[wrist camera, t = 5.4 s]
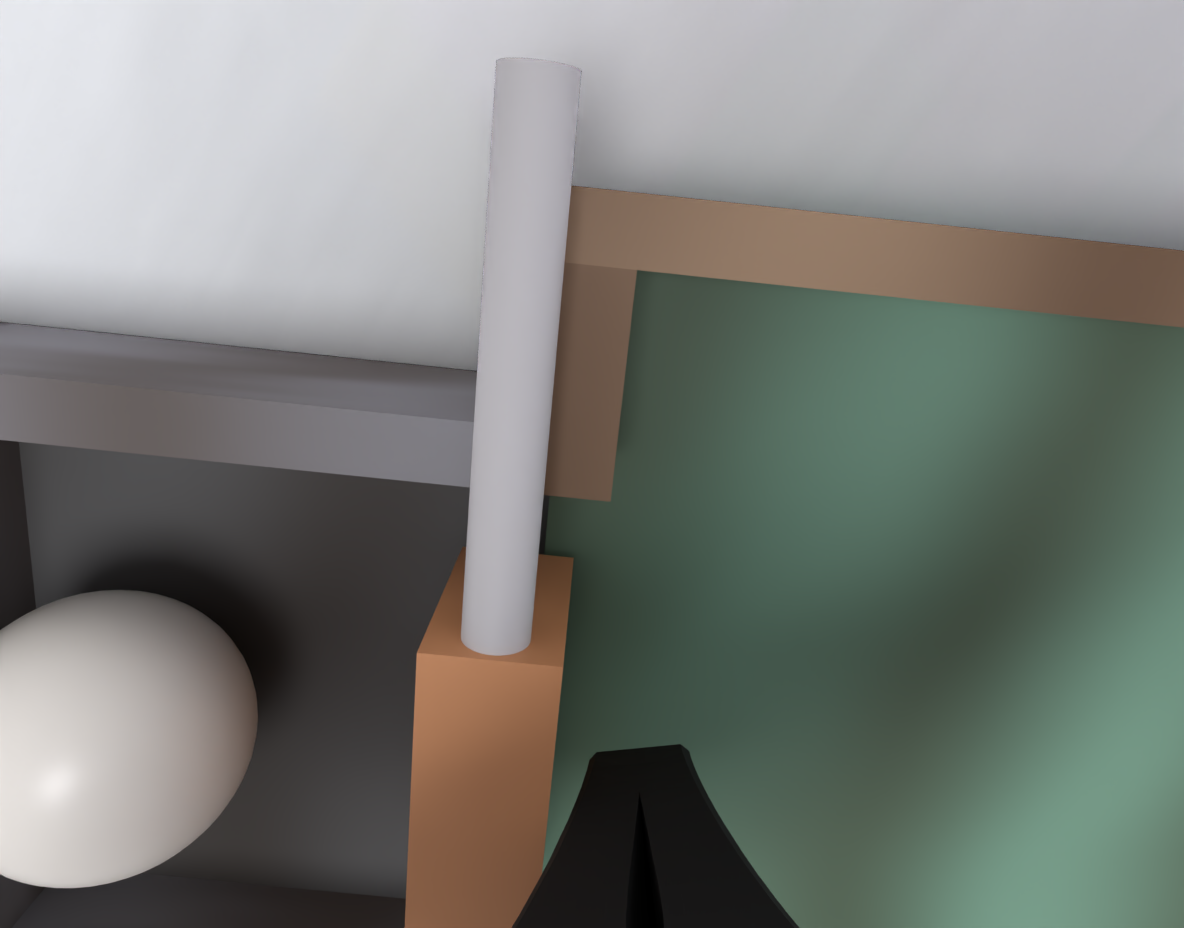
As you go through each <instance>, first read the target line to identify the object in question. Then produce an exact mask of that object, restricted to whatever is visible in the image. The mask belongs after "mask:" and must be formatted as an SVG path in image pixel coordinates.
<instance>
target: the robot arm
mask: <svg viewBox="0 0 1184 928" xmlns="http://www.w3.org/2000/svg"><path fill="white" fill-rule="evenodd" d="M512 928H799V926H798V925H797V924H796V923H795V922H794V920H793V919H792V918H791V917H790V916H789V914H788V913H787V912H786V911H785V909H784V908H783V907H782V905H781V904H780V903H779V902H778V900H777V899H776V898H775V896H774V895H773V894H772V892H771V891H770V890H769V888H768V887H767V886H766V884H765V883H764V882H763V880H762V879H761V878H760V876H759V875H758V874H757V872H756V871H755V869H754V868H753V867H752V865H751V864H750V862H749V861H748V859H747V858H746V857H745V855H744V854H743V852H742V851H741V849H740V847H739V846H738V844H737V843H736V841H735V840H734V838H733V837H732V835H731V833H730V832H729V830H728V829H727V827H726V826H725V824H724V823H723V821H722V819H721V817H720V816H719V814H718V812H717V811H716V809H715V807H714V805H713V804H712V802H711V800H710V798H709V796H708V794H707V792H706V791H705V789H704V787H703V785H702V783H701V780H700V778H699V776H698V774H697V772H696V769H695V767H694V764H693V762H692V759H691V756H690V752H689V750H687V749H686V748H685V747H684V746H682V745H681V744H676V745H665V746H655V747H644V748H634V749H623V750H613V751H602V752H596V753H595V754H594V755H593V757H592V758H591V759H590V760H589V764H588V767H587V771H586V774H585V777H584V780H583V783H582V786H581V789H580V792H579V794H578V797H577V799H576V802H575V804H574V807H573V809H572V812H571V814H570V816H569V819H568V821H567V823H566V825H565V828H564V830H563V832H562V834H561V836H560V838H559V840H558V842H557V845H556V847H555V849H554V851H553V853H552V855H551V857H550V859H549V861H548V863H547V865H546V867H545V869H544V871H543V873H542V875H541V877H540V878H539V880H538V882H537V884H536V886H535V887H534V889H533V891H532V893H531V895H530V896H529V898H528V900H527V902H526V904H525V905H524V907H523V909H522V911H521V913H520V914H519V916H518V918H517V919H516V921H515V923H514V924H513V926H512Z"/></svg>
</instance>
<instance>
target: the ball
mask: <svg viewBox="0 0 1184 928" xmlns="http://www.w3.org/2000/svg"><path fill="white" fill-rule="evenodd" d="M257 723H258V708H257V698H256V691H255V687H254V683H253V680H252V676H251V673H250V670H249V668H248V666H247V664H246V661H245V659H244V657H243V655H242V654H241V652H240V651H239V649H238V648H237V647H236V645H235V644H234V642H233V641H232V639H231V638H230V637H229V636H228V635H227V634H226V632H225V631H224V630H223V629H222V628H221V627H220V626H219V625H217V624H216V623H215V622H214V621H212V620H211V619H210V618H208V617H207V616H206V615H204V614H203V613H201V612H200V611H198V610H196V609H194V608H193V607H191V606H189V605H187V604H185V603H183V602H180V601H178V600H175V599H173V598H169V597H166V596H162V595H159V594H155V593H149V592H143V591H133V590H103V591H95V592H88V593H81V594H78V595H74V596H70V597H66V598H62V599H59V600H56V601H54V602H51V603H48V604H46V605H43V606H41V607H39V608H37V609H35V610H33V611H31V612H29V613H27V614H25V615H23V616H21V617H20V618H18V619H17V620H15V621H13V622H12V623H10V624H9V625H7V626H6V627H4V628H2V629H1V630H0V874H1V875H3V876H5V877H7V878H10V879H13V880H16V881H19V882H21V883H26V884H30V885H35V886H41V887H51V888H81V887H92V886H97V885H103V884H108V883H112V882H116V881H119V880H123V879H126V878H129V877H132V876H135V875H137V874H140V873H143V872H145V871H147V870H149V869H151V868H153V867H155V866H157V865H159V864H161V863H163V862H165V861H166V860H168V859H170V858H171V857H173V856H175V855H176V854H177V853H179V852H180V851H181V850H183V849H184V848H186V847H187V846H188V845H189V844H191V843H192V842H193V841H194V840H196V839H197V838H198V837H199V836H200V835H201V834H202V833H203V832H204V831H206V830H207V829H208V828H209V827H210V825H211V824H212V823H213V822H214V821H215V820H216V819H217V818H218V817H219V815H220V814H221V813H222V811H223V810H224V809H225V807H226V806H227V804H228V803H229V802H230V800H231V799H232V797H233V796H234V795H235V793H236V791H237V789H238V787H239V785H240V783H241V782H242V780H243V777H244V775H245V773H246V770H247V768H248V765H249V762H250V760H251V757H252V753H253V749H254V744H255V739H256V734H257Z"/></svg>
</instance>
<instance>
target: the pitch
mask: <svg viewBox="0 0 1184 928" xmlns="http://www.w3.org/2000/svg"><path fill="white" fill-rule="evenodd" d="M476 380H477V371H469V370H459V369H450V368H440V367H430V366H421V365H411V364H401V363H392V362H382V361H372V360H362V359H353V358H343V357H333V356H324V355H314V354H304V353H295V352H285V351H275V350H266V349H256V348H246V347H237V346H227V345H217V344H207V343H198V342H188V341H178V340H169V339H159V338H149V337H140V336H130V335H120V334H111V333H101V332H91V331H81V330H72V329H62V328H52V327H43V326H33V325H23V324H14V323H4V322H0V630H1V629H2V628H4V627H6V626H7V625H9V624H10V623H12V622H13V621H15V620H17V619H18V618H20V617H21V616H23V615H25V614H27V613H29V612H31V611H33V610H35V609H37V608H39V607H41V606H43V605H46V604H48V603H51V602H54V601H56V600H59V599H62V598H66V597H70V596H74V595H78V594H81V593H88V592H95V591H103V590H133V591H143V592H149V593H155V594H159V595H162V596H166V597H169V598H173V599H175V600H178V601H180V602H183V603H185V604H187V605H189V606H191V607H193V608H194V609H196V610H198V611H200V612H201V613H203V614H204V615H206V616H207V617H208V618H210V619H211V620H212V621H214V622H215V623H216V624H217V625H219V626H220V627H221V628H222V629H223V630H224V631H225V632H226V634H227V635H228V636H229V637H230V638H231V639H232V641H233V642H234V644H235V645H236V647H237V648H238V649H239V651H240V652H241V654H242V655H243V657H244V659H245V661H246V664H247V666H248V668H249V670H250V673H251V676H252V680H253V683H254V687H255V691H256V698H257V708H258V723H257V734H256V739H255V744H254V749H253V753H252V757H251V760H250V762H249V765H248V768H247V770H246V773H245V775H244V777H243V780H242V782H241V783H240V785H239V787H238V789H237V791H236V793H235V795H234V796H233V797H232V799H231V800H230V802H229V803H228V804H227V806H226V807H225V809H224V810H223V811H222V813H221V814H220V815H219V817H218V818H217V819H216V820H215V821H214V822H213V823H212V824H211V825H210V827H209V828H208V829H207V830H206V831H204V832H203V833H202V834H201V835H200V836H199V837H198V838H197V839H196V840H194V841H193V842H192V843H191V844H189V845H188V846H187V847H186V848H184V849H183V850H181V851H180V852H179V853H177V854H176V855H175V856H173V857H171V858H170V859H168V860H166V861H165V862H163V863H161V864H159V865H157V866H155V867H153V868H151V869H149V870H147V871H145V872H143V873H140V874H137V875H135V876H132V877H129V878H126V879H123V880H119V881H116V882H112V883H108V884H103V885H97V886H92V887H81V888H51V887H41V886H35V885H30V884H26V883H21V882H19V881H16V880H13V879H10V878H7V877H5V876H3V875H1V874H0V928H405V907H406V885H407V862H408V840H409V817H410V795H411V772H412V750H413V727H414V705H415V683H416V660H417V651H418V649H419V647H420V644H421V642H422V640H423V637H424V635H425V633H426V630H427V628H428V626H429V623H430V621H431V619H432V617H433V614H434V612H435V610H436V607H437V605H438V603H439V600H440V598H441V596H442V593H443V591H444V589H445V586H446V584H447V582H448V580H449V577H450V575H451V573H452V570H453V568H454V566H455V563H456V561H457V559H458V556H459V554H460V552H461V549H462V547H466V543H467V527H468V510H469V494H470V478H471V462H472V445H473V429H474V413H475V397H476ZM539 554H542V555H551V556H561V557H571V558H574V560H573V571H572V581H571V591H570V602H569V612H568V623H567V633H566V644H565V654H564V665H563V674H562V684H561V694H560V704H559V713H558V723H557V733H556V742H555V752H554V762H553V771H552V781H551V791H550V801H549V810H548V820H547V830H546V839H545V849H544V859H543V869H542V873H543V871H544V869H545V867H546V865H547V863H548V861H549V859H550V857H551V855H552V853H553V851H554V849H555V847H556V845H557V842H558V840H559V838H560V836H561V834H562V832H563V830H564V828H565V825H566V823H567V821H568V819H569V816H570V814H571V812H572V809H573V807H574V804H575V802H576V799H577V797H578V794H579V792H580V789H581V786H582V783H583V780H584V777H585V774H586V771H587V767H588V764H589V760H590V759H591V758H592V757H593V755H594V754H595V753H596V752H602V751H613V750H623V749H634V748H644V747H655V746H665V745H676V744H681V745H682V746H684V747H685V748H686V749H687V750H689V752H690V756H691V759H692V762H693V764H694V767H695V769H696V772H697V774H698V776H699V778H700V780H701V783H702V785H703V787H704V789H705V791H706V792H707V794H708V796H709V798H710V800H711V802H712V804H713V805H714V807H715V809H716V811H717V812H718V814H719V816H720V817H721V819H722V821H723V823H724V824H725V826H726V827H727V829H728V830H729V832H730V833H731V835H732V837H733V838H734V840H735V841H736V843H737V844H738V846H739V847H740V849H741V851H742V852H743V854H744V855H745V857H746V858H747V859H748V861H749V862H750V864H751V865H752V867H753V868H754V869H755V871H756V872H757V874H758V875H759V876H760V878H761V879H762V880H763V882H764V883H765V884H766V886H767V887H768V888H769V890H770V891H771V892H772V894H773V895H774V896H775V898H776V899H777V900H778V902H779V903H780V904H781V905H782V907H783V908H784V909H785V911H786V912H787V913H788V914H789V916H790V917H791V918H792V919H793V920H794V922H795V923H796V924H797V925H798V926H799V928H1184V251H1182V250H1172V249H1163V248H1154V247H1144V246H1135V245H1125V244H1116V243H1107V242H1097V241H1088V240H1078V239H1069V238H1060V237H1050V236H1041V235H1031V234H1022V233H1012V232H1003V231H994V230H984V229H975V228H965V227H956V226H947V225H937V224H928V223H918V222H909V221H900V220H890V219H881V218H871V217H862V216H852V215H843V214H834V213H824V212H815V211H805V210H796V209H787V208H777V207H768V206H758V205H749V204H740V203H730V202H721V201H711V200H702V199H693V198H683V197H674V196H664V195H655V194H645V193H636V192H627V191H617V190H608V189H598V188H589V187H580V186H571V195H570V206H569V217H568V229H567V240H566V251H565V262H564V273H563V285H562V296H561V307H560V318H559V330H558V341H557V352H556V363H555V374H554V386H553V397H552V408H551V419H550V430H549V442H548V453H547V464H546V475H545V487H544V498H543V509H542V520H541V531H540V543H539Z"/></svg>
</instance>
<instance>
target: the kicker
mask: <svg viewBox="0 0 1184 928" xmlns="http://www.w3.org/2000/svg"><path fill="white" fill-rule="evenodd" d="M581 72H582V71H581V70H580V69H578V68H576V67H573V66H570V65H567V64H563V63H558V62H553V61H546V60H539V59H529V58H502V59H498V60H496V72H495V88H494V104H493V120H492V137H491V153H490V169H489V185H488V202H487V218H486V234H485V250H484V267H483V283H482V299H481V315H480V332H479V348H478V364H477V380H476V397H475V413H474V429H473V445H472V462H471V478H470V494H469V510H468V527H467V543H466V547H462V549H461V552H460V554H459V556H458V559H457V561H456V563H455V566H454V568H453V570H452V573H451V575H450V577H449V580H448V582H447V584H446V586H445V589H444V591H443V593H442V596H441V598H440V600H439V603H438V605H437V607H436V610H435V612H434V614H433V617H432V619H431V621H430V623H429V626H428V628H427V630H426V633H425V635H424V637H423V640H422V642H421V644H420V647H419V649H418V651H417V660H416V683H415V705H414V727H413V750H412V772H411V795H410V817H409V840H408V862H407V885H406V907H405V928H512V926H513V924H514V923H515V921H516V919H517V918H518V916H519V914H520V913H521V911H522V909H523V907H524V905H525V904H526V902H527V900H528V898H529V896H530V895H531V893H532V891H533V889H534V887H535V886H536V884H537V882H538V880H539V878H540V877H541V875H542V869H543V859H544V849H545V839H546V830H547V820H548V810H549V801H550V791H551V781H552V771H553V762H554V752H555V742H556V733H557V723H558V713H559V704H560V694H561V684H562V674H563V665H564V654H565V644H566V633H567V623H568V612H569V602H570V591H571V581H572V571H573V560H574V558H571V557H561V556H551V555H542V554H539V543H540V531H541V520H542V509H543V498H544V487H545V475H546V464H547V453H548V442H549V430H550V419H551V408H552V397H553V386H554V374H555V363H556V352H557V341H558V330H559V318H560V307H561V296H562V285H563V273H564V262H565V251H566V240H567V229H568V217H569V206H570V195H571V184H572V173H573V161H574V150H575V139H576V128H577V116H578V105H579V94H580V83H581Z"/></svg>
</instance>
